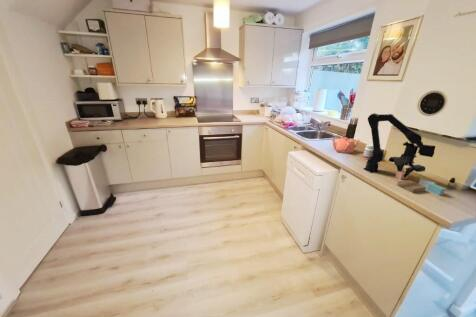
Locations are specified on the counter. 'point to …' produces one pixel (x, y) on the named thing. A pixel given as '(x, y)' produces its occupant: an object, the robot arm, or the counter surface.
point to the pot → (344, 145)
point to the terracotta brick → (401, 175)
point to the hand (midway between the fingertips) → (401, 176)
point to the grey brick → (425, 182)
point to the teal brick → (436, 189)
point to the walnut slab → (411, 186)
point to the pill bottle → (368, 151)
